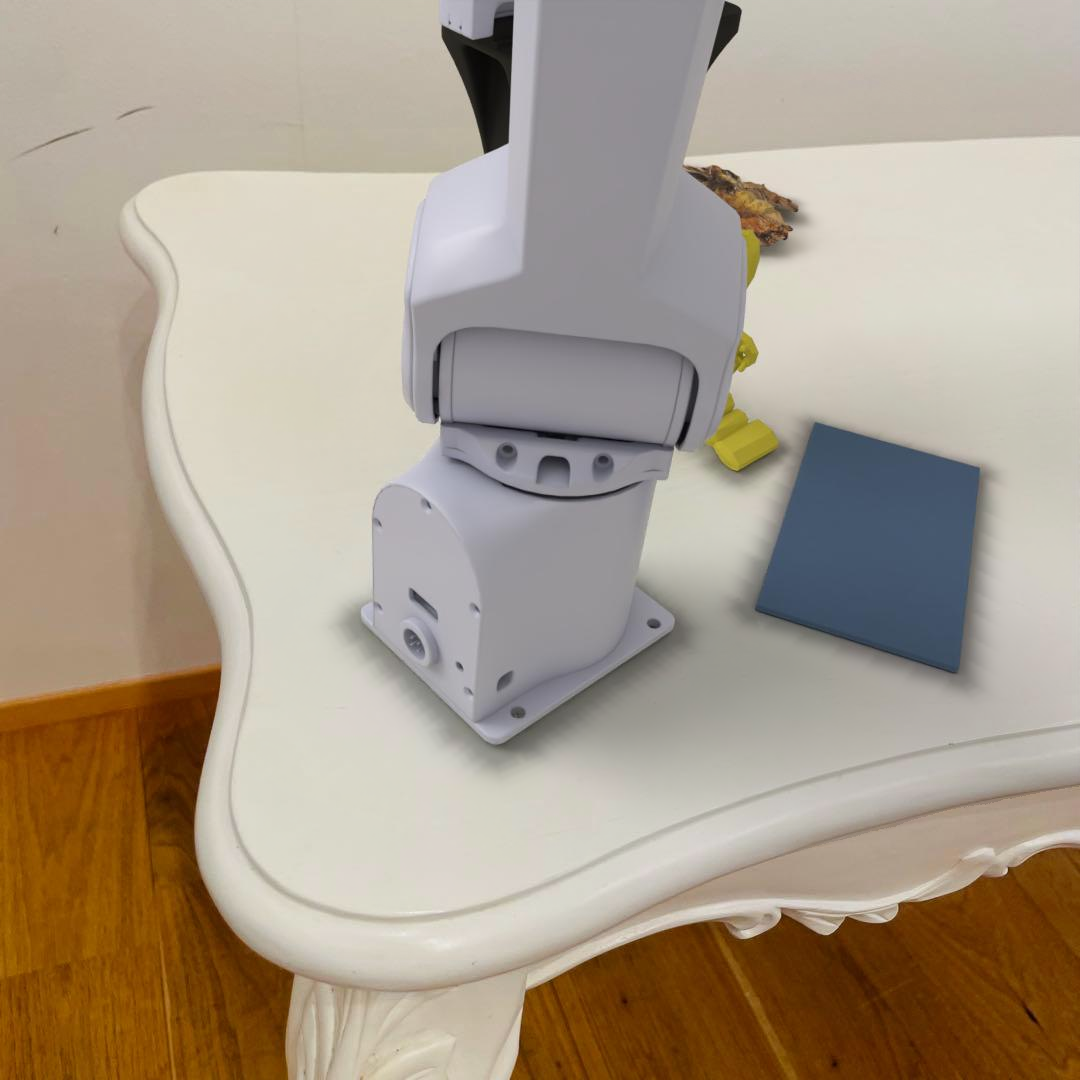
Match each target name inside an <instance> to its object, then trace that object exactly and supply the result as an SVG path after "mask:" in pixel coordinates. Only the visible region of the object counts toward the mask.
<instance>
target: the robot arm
mask: <svg viewBox="0 0 1080 1080" xmlns="http://www.w3.org/2000/svg"><path fill="white" fill-rule="evenodd" d="M438 3H439V5H438V6H439V7H438V8H439V9H438V23H439V25H440V26H441V27H440V28H441V30H440V32H441V39H442V41H443V43H444V45H445V47H446V49H447V51H448V53H449V55H450V57H451V59H452V61H453V63H454V66H455V68H456V70H457V72H458V75H459V77H460V78H461V81H462V84H463V86H464V89H465V91H466V94H467V96H468V99H469V102H470V105H471V108H472V111H473V114H474V117H475V121H476V124H477V129H478V132H479V137H480V141H481V146H482V150H483V154H482V155H479V156H477V157H475V158H473V159H470V160H468V161H466V162H464V163H463V162H462V163H461V164H459V165H457V166H455V167H453V168H450V169H449V170H446V171H445V172H442V173H440V174H438V175H436V176H435V177H434V178H432V179H431V180H430V181H429V183H428V188H427V191H426V196H425V198H424V199H422V200H421V201H420V202H419V203H418V205H417V209H416V214H415V218H414V223H413V226H412V227H413V228H412V233H411V237H410V244H409V250H408V257H407V265H406V273H405V280H404V281H405V282H404V290H403V301H404V303H403V305H404V309H403V311H404V312H403V313H404V314H403V320H402V321H403V322H402V323H403V324H402V335H401V336H402V337H401V360H400V361H401V364H400V365H401V366H400V367H401V371H400V373H401V390H402V397H403V400H404V402H405V404H406V405H407V406H408V407H409V409H411V411H412V412H413V413H414V414H415V415H414V416H415V418H416V419H417V421H418V422H419V423H421V424H427V425H428V424H429V425H436V424H438V422H439V421H440V426H439V428H440V429H439V437H438V438H437V439H436V440H435V442H434V443H433V444H432V446H431V447H430V448H429V449H428V451H426V453H425V454H424V455H422V456H421V457H420V459H418V460H417V461H416V462H415V463H414V464H413V465H411V466H410V467H408V468H407V469H406V470H405V471H404V472H402V473H401V474H399V475H398V476H396V477H394V478H393V479H392V480H390V481H389V482H387V483H385V485H383V486H382V487H381V488H380V490H379V491H378V492H377V494H376V496H375V498H374V500H373V505H372V510H371V552H372V553H371V554H372V559H371V560H372V561H371V563H372V564H371V565H372V601H369V602H367V603H366V604H365V605H364V606H362V607H361V609H360V620H361V622H362V623H363V624H364V625H365V626H366V627H367V628H368V629H369V630H370V631H371V632H372V633H373V634H374V635H375V636H376V637H377V638H378V639H379V640H380V641H381V642H382V643H383V644H385V646H386V647H387V648H389V650H390V651H392V652H393V653H394V654H395V655H396V656H397V658H399V660H401V661H402V662H403V663H404V664H405V665H406V666H407V667H408V668H409V670H411V671H412V672H413V673H414V674H416V676H417V677H419V678H420V679H421V680H422V681H423V682H424V683H425V684H426V685H427V686H428V687H429V688H430V689H431V690H432V691H433V693H435V694H436V695H437V696H438V697H439V698H440V699H441V700H442V701H443V702H444V703H445V704H446V705H447V706H448V707H449V708H450V709H452V711H453V712H455V713H456V714H457V716H459V717H460V718H461V719H462V720H463V721H464V722H465V723H466V724H467V725H468V726H469V727H470V728H471V729H472V730H473V731H474V732H475V733H476V734H477V735H478V736H479V737H480V738H481V739H482V740H483V741H485V742H486V743H488V744H490V745H502V744H504V743H506V742H508V741H509V740H510V739H512V738H514V737H515V736H517V735H518V734H519V733H521V732H522V731H524V730H526V729H527V728H528V727H531V725H533V724H535V723H536V722H537V721H539V720H541V719H542V718H544V717H545V716H547V715H548V714H550V713H551V712H552V711H554V710H556V709H557V708H558V707H560V706H562V705H563V704H564V703H566V702H567V701H569V700H571V699H572V698H573V697H575V696H577V695H578V694H579V693H581V692H582V691H584V690H585V689H587V688H588V687H589V686H591V685H593V684H594V683H596V682H597V681H599V680H601V679H602V678H603V677H605V676H607V675H608V674H610V673H611V672H612V671H614V670H615V669H617V668H619V666H621V665H623V664H624V663H626V662H628V661H629V660H631V659H632V658H633V657H635V656H637V654H639V653H641V652H643V651H644V650H645V649H647V648H648V647H650V646H651V645H653V644H654V643H656V642H657V641H659V640H660V639H662V638H663V637H665V636H666V635H668V634H669V633H671V632H672V631H673V630H674V627H675V622H676V617H675V616H674V615H673V614H672V612H671V611H669V610H668V609H666V607H664V606H663V605H661V604H660V603H659V602H657V601H656V600H655V599H654V598H652V597H651V596H650V595H648V594H647V593H646V592H644V591H643V590H642V589H641V588H640V587H639V586H637V585H636V582H637V577H638V573H639V570H640V569H639V568H640V564H641V559H642V554H643V549H644V544H645V539H646V534H647V530H648V524H649V520H650V515H651V511H652V506H653V500H654V496H655V492H656V485H657V481H667V480H668V479H669V475H670V470H671V465H672V461H673V456H674V452H675V449H676V450H677V451H678V452H683V453H696V452H697V451H698V450H699V449H700V448H701V447H702V445H703V444H705V442H706V441H707V440H708V439H709V438H710V437H712V436H713V435H714V434H715V433H716V431H717V429H718V427H719V425H720V422H721V420H722V417H723V414H724V410H725V407H726V403H727V399H728V395H729V393H730V391H731V390H730V389H731V384H732V380H733V375H734V374H733V369H734V363H735V356H736V351H737V348H738V345H739V342H740V340H741V337H742V333H743V331H744V328H745V327H744V326H745V318H746V317H745V316H746V304H747V290H748V288H747V246H746V240H745V239H744V237H743V236H742V232H741V221H740V216H739V215H738V213H737V212H736V210H734V209H733V208H732V207H731V206H730V205H728V204H727V203H726V202H725V201H724V200H722V199H721V198H720V197H719V196H718V195H716V194H715V193H714V192H713V191H711V190H710V189H709V188H707V187H706V186H705V185H703V184H702V183H703V182H701V181H699V180H698V179H697V178H695V177H694V176H693V175H691V174H690V173H689V172H687V171H686V170H685V169H683V168H684V167H683V164H684V162H685V158H686V154H687V151H688V147H689V143H690V140H691V139H690V138H691V136H692V131H693V127H694V123H695V119H696V116H697V111H698V107H699V104H700V99H701V96H702V91H703V89H704V84H705V80H706V76H707V74H708V72H709V70H710V69H711V67H712V66H713V64H714V63H715V61H716V60H717V58H718V57H719V56H720V55H721V53H722V52H723V51H724V50H725V48H726V47H727V46H728V44H730V43H731V41H732V40H733V38H735V36H736V35H737V34H738V33H739V29H740V25H741V24H740V23H741V19H742V14H743V9H742V8H741V7H740V6H739V5H737V4H735V3H733V2H729V1H728V0H439V2H438ZM653 627H654V628H653ZM513 715H520V716H521V717H520V718H519V717H515V716H513Z"/></svg>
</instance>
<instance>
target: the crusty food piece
mask: <svg viewBox="0 0 1080 1080" xmlns="http://www.w3.org/2000/svg"><path fill="white" fill-rule="evenodd" d="M682 168H684V169H686V170H688V171H692V172H696V173H700V174H702V175H705V176H707V178H708V180H706V181H704V182H701V183H702V184H703V185H705V186H706V187H707V188H709V189H710V190H711V191H713V192H714V193H715V194H716V195H718V196H719V197H720V198H721V199H722V200H724V201H725V202H726V203H727V204H728V205H730V206H731V207H732V208H733V209H734V210H736V212H737V213H738V215H739V216H740V221H741V230H752V231H753V232H754V234H755V236H756V237H757V239H758V241H759V242H760V247H770V246H771V245H772V244H775V243H776V242H779V240H781V241H782V240H783V241H787V240H788V238H789V232H793V230H794V228H793V227H792V226H791V225H790V224H789V223H787V222H785V221H784V218H783V216H782V214H781V212H780V211H779V210H776V209H775V208H777V209H782V210H785V211H788V212H791V213H793V214H794V213H798V212H799V204H796V203H794V202H793V200H791V199H790V198H786V197H784V196H781V195H779V194H778V193H776V192H775V191H771V190H770V189H768V188H767V187H766V186H765V183H762V184H760V183H755V182H753V181H742V179H741V176H740V175H737V174H736V173H734V172H733V171H731V170H730V169H725V168H721V166H718V165H715V164H710V165H708V166H706V167H705V166H703V167H699V166H692V165H689V164H684V163H683V167H682Z"/></svg>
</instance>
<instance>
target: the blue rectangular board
mask: <svg viewBox="0 0 1080 1080" xmlns="http://www.w3.org/2000/svg"><path fill="white" fill-rule="evenodd" d="M980 473H981V467H979V466H976V465H972V464H969V463H966V462H961V461H957V460H954V459H950V458H947V457H943V456H939V455H935V454H933V453H928V452H925V451H921V450H918V449H914V448H910V447H907V446H904V445H901V444H900V445H899V444H896V443H892V442H889V441H886V440H882V439H878V438H874V437H872V436H867V435H864V434H860V433H857V432H853V431H849V430H846V429H842V428H838V427H835V426H831V425H827V424H825V423H820V422H817V421H815V422H814V423H813V427H812V429H811V434H810V436H809V439H808V441H807V445H806V449H805V452H804V455H803V458H802V461H801V464H800V467H799V470H798V473H797V477H796V480H795V483H794V486H793V489H792V493H791V496H790V499H789V502H788V505H787V507H786V511H785V514H784V517H783V521H782V523H781V526H780V530H779V533H778V535H777V538H776V542H775V546H774V548H773V552H772V554H771V558H770V561H769V564H768V568H767V570H766V573H765V574H766V575H765V576H764V580H763V583H762V586H761V589H760V592H759V595H758V599H757V602H756V605H755V608H754V609H755V611H758V612H762V613H765V614H767V615H771V616H775V617H778V618H781V619H784V620H787V621H790V622H793V623H796V624H799V625H803V626H806V627H808V628H812V629H815V630H818V631H822V632H825V633H828V634H831V635H834V636H837V637H841V638H843V639H847V640H851V641H854V642H857V643H860V644H863V645H866V646H869V647H872V648H876V649H878V650H881V651H885V652H888V653H891V654H895V655H897V656H900V657H903V658H906V659H911V660H913V661H916V662H919V663H923V664H926V665H929V666H932V667H937V668H939V669H941V670H945V671H948V672H950V673H955V674H957V673H958V671H959V669H960V662H961V653H962V643H963V635H964V625H965V617H966V607H967V599H968V597H967V596H968V588H969V587H968V586H969V577H970V569H971V568H970V567H971V558H972V550H973V540H974V539H973V538H974V530H975V520H976V511H977V502H978V493H979V482H980Z"/></svg>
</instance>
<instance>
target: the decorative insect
mask: <svg viewBox="0 0 1080 1080" xmlns="http://www.w3.org/2000/svg"><path fill="white" fill-rule="evenodd" d="M741 232H742V236H743V237H744V239H745V240H746V246H747V289H748V288H749V287H750V285H751V284H752V282H753V279H754V278H755V277H756V273H757V269H758V267H759V263H760V259H761V248H760V247H761V246H760V242H759V241H758V239H757V237H756V236H755V234H754V232H753V231H752V230H741ZM759 353H760V352H759V350H758V348H757V345H756V343H755V341H754V339H753V337H752V336H751V335H749V334H748V333H746V332H745V331H744V330H743V333H742V337H741V340H740V342H739V345H738V348H737V351H736V356H735V363H734V369H733V375H734V374H735V373H736V372H739V373H743V372H744V371H745V370H746V369H747V368H749V367H751V366H752V365H754V364H755V363H756V362H757V359H758V357H759ZM735 406H736V403H735V401H734V397H733V395H732V394H731V393H730V392H729V395H728V399H727V403H726V407H725V410H724V414H723V417H722V420H721V422H720V425H719V427H718V429H717V431H716V433H715V434H714V435H713V436H712V437H710V438H709V439H708V440H707V441H706V442H704V444H706V445H708V446H709V447H711V448H713V450H714V451H715V453H716V455H717V456H718V458H719V460H720V461H721V462H722V463H723V464H724V465H725V466H726V467H727V468H729V469H730V470H733V471H736V472H739V471H740V470H742V469H744V468H745V467H747V466H748V465H750V464H752V463H754V462H755V461H757V460H759V459H761V458H763V457H764V456H766V455H768V454H769V453H771V452H773V451H774V450H776V449H778V446H779V444H780V442H779V440H778V438H777V437H776V433H775V432H774V430H773V429H771V428H770V427H769V426H768V425H766V424H765V422H763V421H761V419H759V418H756V419H754V420H753V421H750V422H749V418H748V416H747V414H746V412H745V411H742V410H741V409H739V408H735ZM734 408H735V409H734Z"/></svg>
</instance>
